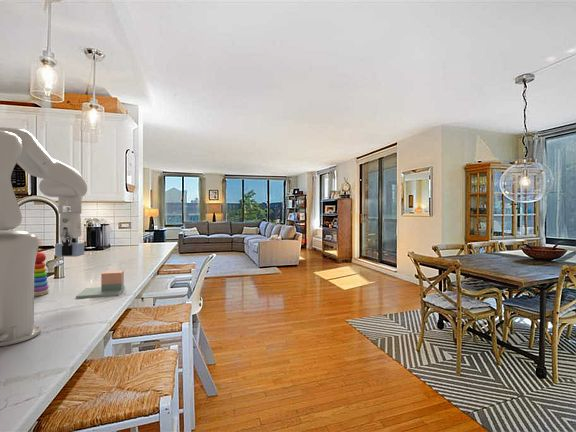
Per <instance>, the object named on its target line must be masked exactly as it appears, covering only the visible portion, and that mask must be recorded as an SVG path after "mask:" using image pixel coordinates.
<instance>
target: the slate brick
mask: <svg viewBox="0 0 576 432" xmlns="http://www.w3.org/2000/svg"><path fill="white" fill-rule="evenodd" d="M71 245H72V255H71V256H62V242H60V243H55V244H54V257H56V258H57V257H58V258H59V257H61V258H62V257H63V258H65V257H69V258H71V257H74V258H77V257H80V256H84V255H85V242H78V243H71Z"/></svg>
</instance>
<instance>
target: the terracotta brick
mask: <svg viewBox="0 0 576 432" xmlns="http://www.w3.org/2000/svg"><path fill="white" fill-rule="evenodd" d="M124 272H125V271H124V270H108V271H106V270H103V272H102V273H101V274H100V275H101V277H100V278H101V279H100V285H104V284H121V283H122V282H123V281H124V282H125V280H124V279H125V278H124V277H125V276H124V275H125V274H124Z"/></svg>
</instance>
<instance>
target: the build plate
mask: <svg viewBox="0 0 576 432" xmlns="http://www.w3.org/2000/svg"><path fill="white" fill-rule="evenodd" d="M100 285H101V284H100ZM125 288H126V287H125V280H124V281H123V282H122V283H121V284H104V285H101V286H100V287H99V286H98V287H87V288H85V289H83V290H82V291H80V292H79V293H78V294H76V296H75V299H88V298H90V299H91V298H100V297H101V298H102V297H114V296H119V295H121V293H122V292H123V291H124V289H125Z"/></svg>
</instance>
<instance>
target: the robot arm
mask: <svg viewBox="0 0 576 432" xmlns="http://www.w3.org/2000/svg"><path fill="white" fill-rule="evenodd" d="M16 165H18V166H19V167H20V169H21V168H22V170H23V171H24V172H26V174H28V175H30V176H32V177H37V178H38V179H41V181H40V182H39V184H38V188H39V191H40V192H41V194H43V195H44V196H46V197H49V198H57V204H58V205H57V206H58V207H57V208H58V209H57V210H58V212H57V214H58V215H59V214H60V216H59V217H60V218H59V238H60V240H61V243H62V256H71V255H72V245H71V243H79V239H78V238H80V237H81V236H82V219H81V214H82V197H84V196H85V195H86V194H87V192H88V185H87V182H86V181H85V179H84V177H83V176H82V174H81V173H80V172H79V171H78V170H77V169H76V168H73V167H71V166H69V165H68V164H65V163H64V162H61V161H59V160H57V159H54V158H53V157H52V156H51V155H50V154H49V153H48V152H47V150H46V149H45V148H44V146H43V145H41V143H40V141H38V140H37V138H36V137H35V136H34V135H33V134H32V133H31V132H29V131H27V130H25V129H21V128H17V127H6V126H5V127H2V126H0V347H4V346H5V347H6V346H10V345H14V344H18V343H21V342H25V341H28V340H30V339H33V338H34V337H37V336H38V335H39V334H40V333H41V331H42V330H41V329H42V328H41V326H39V325H35V296H34V268H35V260H36V256H37V252H39V251H38V250H39V243H40V242H39V240H38V237H37V236H36V234H34V233H32V232H29V231H26V230H15V229H16V228H18V227H19V226H20V225H21V223H22V222H23V221H22V219H23V216H22V212H21V207H20V206H19V203H18V200H17V197H16V194H15V191H14V188H13V185H12V174H13V171H14V168H15V167H16Z"/></svg>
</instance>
